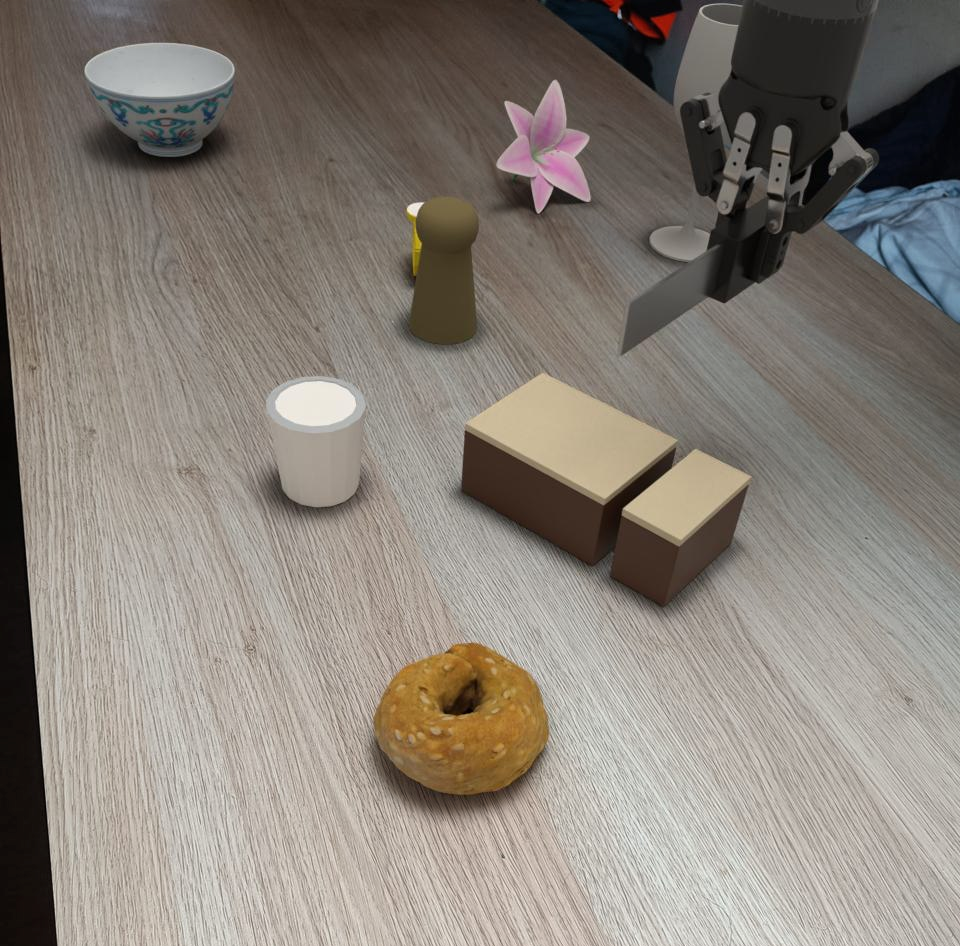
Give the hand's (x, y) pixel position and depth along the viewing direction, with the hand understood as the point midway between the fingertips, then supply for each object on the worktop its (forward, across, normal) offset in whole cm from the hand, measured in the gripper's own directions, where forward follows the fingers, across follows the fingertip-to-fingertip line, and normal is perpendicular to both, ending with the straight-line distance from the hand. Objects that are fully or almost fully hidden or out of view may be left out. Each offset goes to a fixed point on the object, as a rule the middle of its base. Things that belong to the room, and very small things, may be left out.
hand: (742, 269), depth 76 cm
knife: (+1, 0, +5) cm, 5 cm away
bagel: (+15, -5, +35) cm, 38 cm away
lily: (+15, +36, -26) cm, 47 cm away
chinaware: (+15, +71, -6) cm, 73 cm away
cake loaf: (+15, +4, +13) cm, 20 cm away
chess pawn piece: (+15, +26, +1) cm, 30 cm away
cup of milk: (+15, +18, +24) cm, 33 cm away
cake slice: (+15, -6, +13) cm, 20 cm away
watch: (+15, +34, -5) cm, 38 cm away
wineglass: (+15, +19, -28) cm, 37 cm away
